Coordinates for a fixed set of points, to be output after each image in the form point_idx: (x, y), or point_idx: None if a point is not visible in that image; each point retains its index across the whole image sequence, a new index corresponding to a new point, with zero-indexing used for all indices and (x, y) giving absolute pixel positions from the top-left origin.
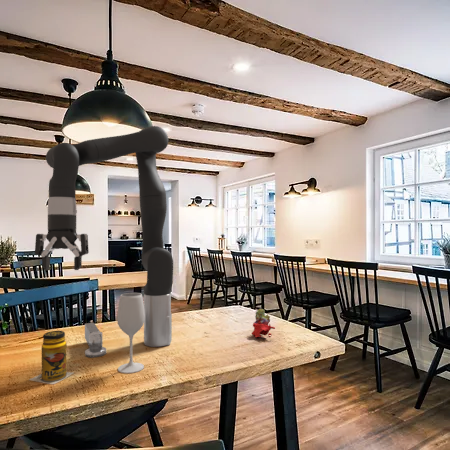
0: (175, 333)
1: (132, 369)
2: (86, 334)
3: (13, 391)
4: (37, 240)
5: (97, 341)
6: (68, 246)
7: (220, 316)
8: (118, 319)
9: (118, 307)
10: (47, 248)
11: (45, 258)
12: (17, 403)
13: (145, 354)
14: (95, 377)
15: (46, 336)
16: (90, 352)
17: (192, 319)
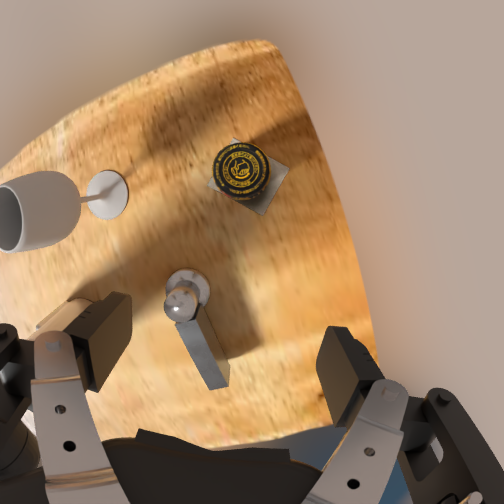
0: None
1: (101, 179)
2: (219, 354)
3: (299, 125)
4: (494, 478)
5: (175, 289)
6: (78, 417)
7: None
8: (67, 187)
9: (49, 199)
10: (379, 431)
11: (362, 372)
12: (274, 79)
13: (93, 264)
14: (162, 159)
15: (255, 146)
16: (194, 279)
17: None
